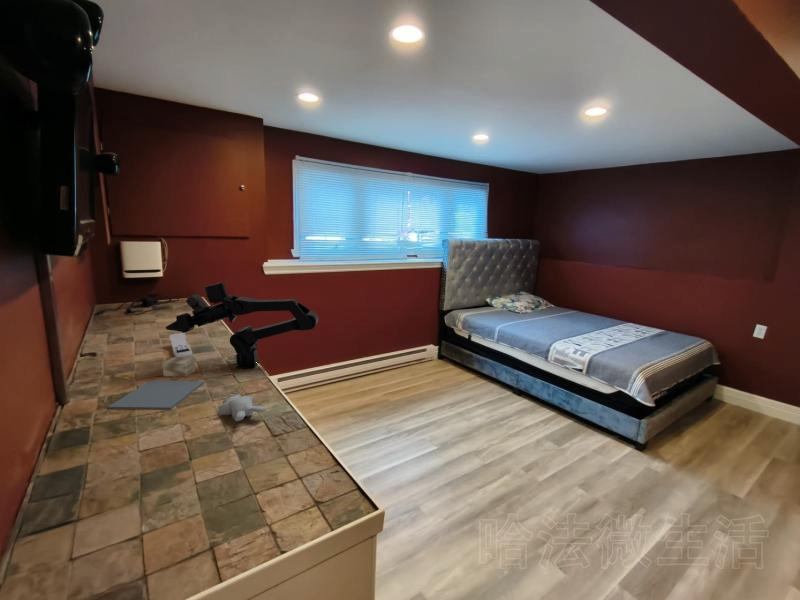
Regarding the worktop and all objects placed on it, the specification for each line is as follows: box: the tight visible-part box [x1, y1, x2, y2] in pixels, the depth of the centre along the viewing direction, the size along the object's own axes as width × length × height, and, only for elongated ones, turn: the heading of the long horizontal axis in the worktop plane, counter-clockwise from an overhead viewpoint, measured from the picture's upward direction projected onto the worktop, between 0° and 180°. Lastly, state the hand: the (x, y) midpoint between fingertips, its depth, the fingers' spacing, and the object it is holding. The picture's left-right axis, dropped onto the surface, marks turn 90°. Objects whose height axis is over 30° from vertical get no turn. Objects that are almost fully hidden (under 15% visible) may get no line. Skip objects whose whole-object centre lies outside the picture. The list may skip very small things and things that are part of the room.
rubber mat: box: [107, 380, 205, 410], centre depth 112 cm, size 18×18×1 cm
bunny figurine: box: [217, 394, 266, 422], centre depth 100 cm, size 10×5×15 cm
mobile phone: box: [169, 332, 194, 358], centre depth 148 cm, size 6×6×25 cm
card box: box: [161, 356, 196, 378], centre depth 128 cm, size 8×6×5 cm
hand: (173, 325), depth 132 cm, fingers open, 9 cm apart
